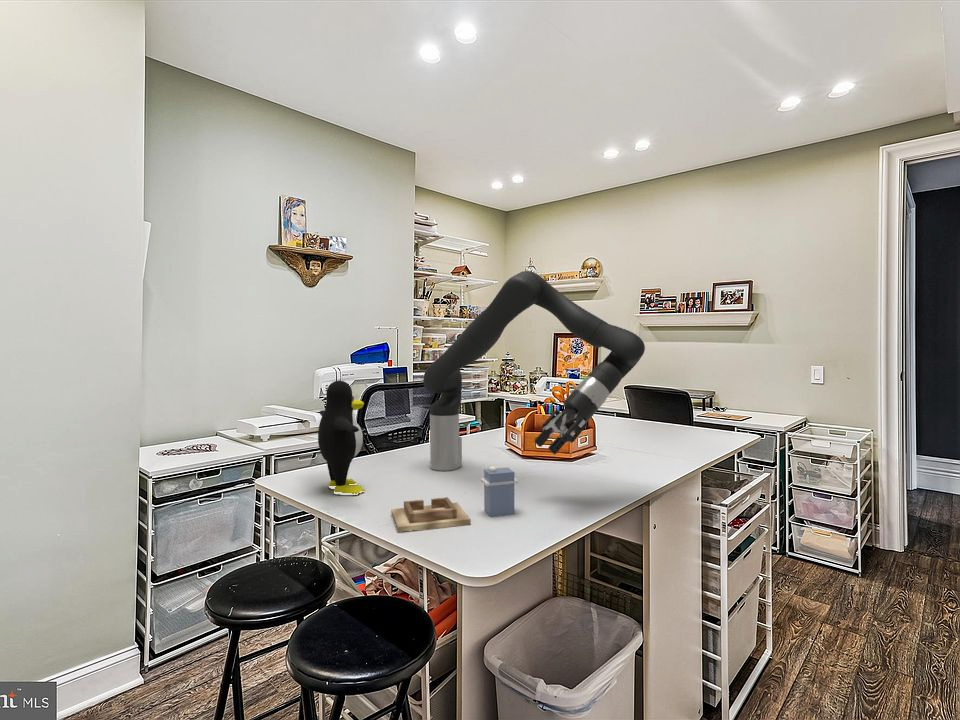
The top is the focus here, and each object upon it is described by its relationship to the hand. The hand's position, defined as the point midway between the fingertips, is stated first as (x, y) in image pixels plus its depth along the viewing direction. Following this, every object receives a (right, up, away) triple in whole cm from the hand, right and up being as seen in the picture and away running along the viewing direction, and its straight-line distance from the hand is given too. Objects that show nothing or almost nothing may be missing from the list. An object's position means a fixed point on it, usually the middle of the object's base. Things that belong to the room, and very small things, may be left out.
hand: (543, 447), depth 123 cm
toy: (-53, -14, +16) cm, 57 cm away
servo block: (-11, -15, -3) cm, 19 cm away
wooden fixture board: (-27, -15, -7) cm, 32 cm away
